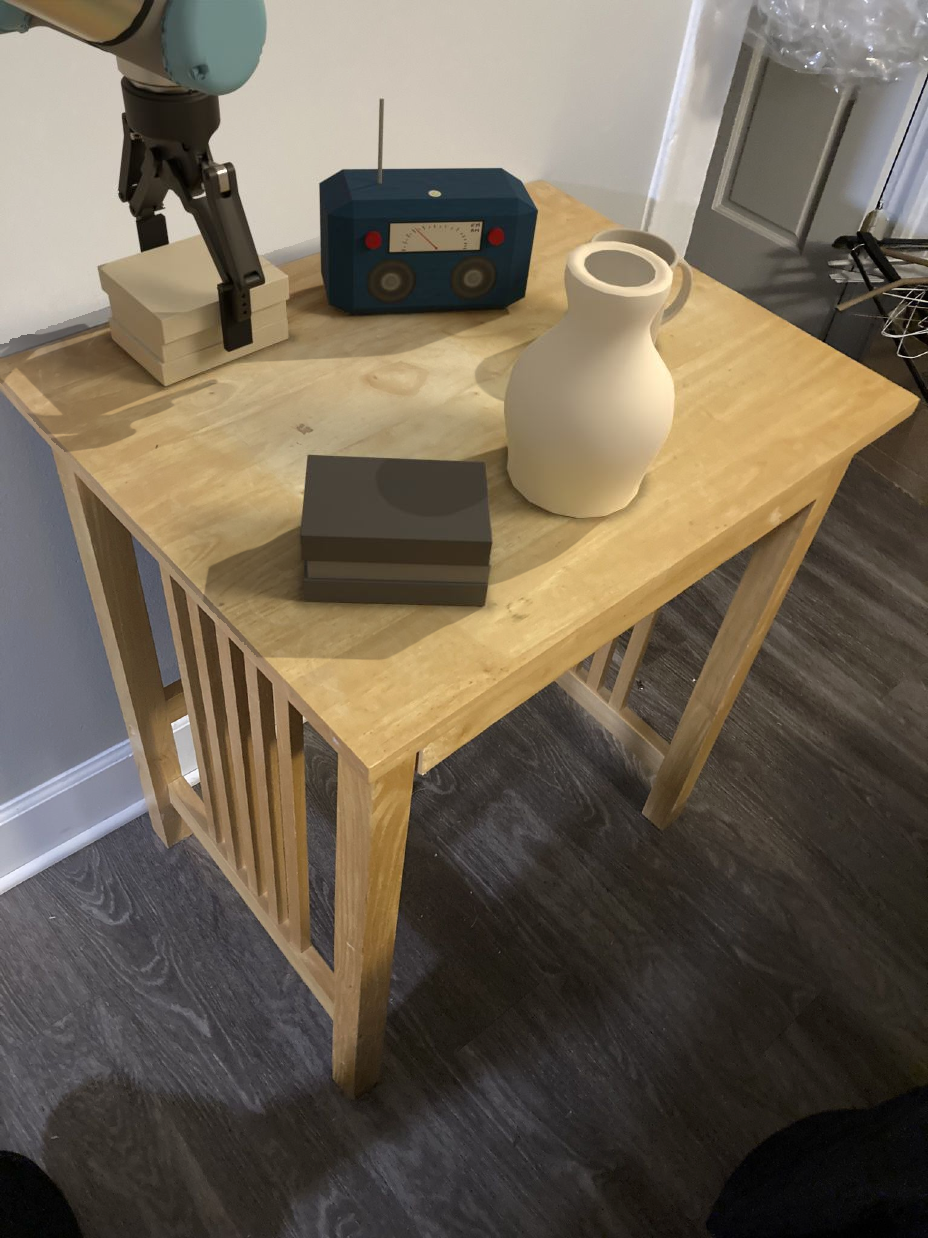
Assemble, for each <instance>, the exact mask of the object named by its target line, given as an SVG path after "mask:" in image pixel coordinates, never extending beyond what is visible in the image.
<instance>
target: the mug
mask: <svg viewBox="0 0 928 1238" xmlns="http://www.w3.org/2000/svg"><path fill="white" fill-rule="evenodd" d="M602 241H615V242H621V243H627V244H632V245H635V246H638V247H641V248H643V249H646V250H648V251H651V252H653V253H654V254H656V255H657V256H659V257H660V258H661V259H663V260H664V261H666V263H667V264H668V266H669V267H670V269H671V270H672V272H673V276H672V282H673V281H674V277H675V274H676V270H677V267H679V268H680V269H681V272H682V281H681V286H680V289H679V291H678V293H677V295H676V297H675V299H674V300H673V301H672V303H671V304H670V305H669V306H668V307H667V302H668V299H669V296H668V297H667V299H666V301H665V302H664V304H663V305H662V307H661V308H660V310H659V311H658V312H657V314H656V315H655V317H654V319H653V320H652V323H651V325H650V335H651V339H652V343H653V345H654V347H655V345H656V341H657V339H658V334H659V332H660V327H661V326H662V325H665V324H667V323H669V322H670V321H672V320H673V319H674V318H676V316H678V314H679V313H680V312H681V311H682V310H683V308H684V307H685V305H686V304H687V302H688V300H689V298H690V295H691V292H692V289H693V285H694V284H693V283H694V274H693V270H692V267H691V265H690V264H689V263H688V262H687V261H686V260H685V259H684V257H682V255H679V254H678V252H677V249H676V248H675V247H674V246H673V245H672V244H671V243H670V242H669V241H668V240H666V239H665V238H663V237H660V236H659V235H656V234H654V233H652V232H649V231H645V230H641V229H635V228H628V227H627V228H626V227H624V228H623V227H616V228H609V229H604V230H601V231H599V232H596V233H595V234H594V235H592V237H591V238H590V240H589V242H588V243H591V242H602Z"/></svg>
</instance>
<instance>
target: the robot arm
mask: <svg viewBox="0 0 928 1238" xmlns="http://www.w3.org/2000/svg"><path fill="white" fill-rule="evenodd" d="M267 24H268V21H267V10H266V3H265V0H0V35H6V34H10V33H11V34H12V33H19V34H21V35H22V34H25V33H27V32H29V30H31V29H33V28H36V27H37V28H38V27H39V28H40V27H42V28H43V27H45V28H49V29H51V30H54V31H56V32H58V33H61V34H63V35H65V36H67V37H70V38H72V39H74V40H77V41H78V42H81V43H83V44H86V45H88V46H91V47H93V48H95V49H99V50H100V51H102V52H104V53H109V54H111V55H114V56H115V59H116V65H117V70H118V72H120V73H121V75H122V77H121V79H120V87H121V93H122V94H121V95H122V101H123V106H124V107H123V108H124V112H121V123H122V124H121V125H122V132H123V140H122V148H121V150H122V151H121V158H120V168H119V177H118V187H117V197H118V199H119V200H120V202H121V203H128V208H129V212H130V214H131V216H132V217H133V218H135V225H136V231H137V238H138V245H139V250H140V253H141V252H145V251H148V250H151V249H154V248H158V247H161V246H164V245H167V244H170V240H169V232H168V226H167V219H166V216H165V215H164V214H163V213H161V212H160V213H157V214H156V212H159V211H162V210H166V207H165V204H164V200H165V199H166V196H167V194H168V193H169V190H170V191H172V192H173V193H174V194H175V196H176V197H178V198H179V200H180V203H181V204H182V207H183V209H184V211H185V212H186V213H188V214H190V215H192V217H193V219H194V221H195V223H196V226H197V228H198V230H199V233H200V234H201V235H202V237H203V239H204V241H205V244H206V246H207V248H208V251H209V253H210V255H211V257H212V260H213V262H214V264H215V266H216V269H217V271H218V273H219V275H220V278H221V280H222V283H220V284H217V290H218V298H219V307H220V316H221V326H222V335H223V345H224V349H225V350H226V351H227V352H231V351H234V350H236V349H239V348H241V347H244V346H247V345H249V344H252V343H253V336H252V323H251V314H252V312H251V299H250V289H252V288H255V287H258V286H261V285H263V284H265V277H264V273H263V270H262V267H261V264H260V260H259V257H258V254H259V253H258V251H257V248H256V245H255V241H254V238H253V235H252V231H251V227H250V224H249V222H248V218H247V216H246V212H245V209H244V205H243V203H242V199H241V196H240V192H239V186H238V179H237V178H238V177H237V171H236V168H235V165H234V164H233V163H232V162H231V161H228V162H223V163H218V162H215V161H214V157H213V155H212V151H211V147H210V144H209V143H210V141H211V138H212V136H214V134H215V132H217V131H218V129H219V127H220V125H221V120H222V119H221V110H220V100H219V96H225V95H230V94H232V93H234V92H236V91H238V90H239V89H241V88H242V87H243V86H245V84H246V83H247V82H248V81H249V80H250V79H251V77H253V75H254V73H255V72H256V70H257V68H258V66H259V63H260V61H261V60H260V58H261V55H262V54H263V47H264V45H265V44H266V39H267V30H268V28H267V27H268V25H267ZM118 191H119V193H118ZM203 194H205V195H204V196H202V195H203ZM200 196H201V197H200ZM196 197H197V198H196ZM257 253H258V254H257Z"/></svg>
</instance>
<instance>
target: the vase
mask: <svg viewBox="0 0 928 1238" xmlns="http://www.w3.org/2000/svg"><path fill="white" fill-rule="evenodd" d="M672 276H673V272H672V270H671V269H670V267H669V266H668V264H667V263H666V261H664V260H663V259H661V258H660V257H659V256H657V255H656V254H654V253H653V252H651V251H648V250H646V249H643V248H641V247H638V246H635V245H632V244H627V243H621V242H615V241H602V242H591V243H589V242H588V243H584V244H580V245H578V246H577V247H576V248H574V249H572V250H571V251H570V252H569V253H568V256H567V259H566V263H565V268H564V275H563V277H564V278H563V281H564V288H565V294H566V299H567V308H566V309H567V310H566V312H565V313H564V315H563V317H562V318H561V319H560V320H559V322H558V323H557V324H555V325H553V326H552V327H550V328H549V329H547V330H546V331H545V332H543V333H542V334H540V335H539V336H537V338H535V339H534V340H533V341H532V342H531V343H529V344H528V345H527V346H526V347H525V348H524V349H523V351H521V352H520V353H519V355H518V356H517V358H516V359H515V361H514V362H513V365H512V369H511V371H510V374H509V378H508V381H507V382H508V383H507V386H506V390H505V393H504V394H505V395H504V400H503V415H504V416H503V417H504V427H505V433H506V442H507V463H506V471H507V473H508V476H509V479H510V481H511V484H512V486H513V487H514V488H515V489H516V490H517V491H518V492H519V493H520V494H521V496H523V497H524V498H525V499H526V500H527V501H528V502H529V503H531V504H534V505H535V506H537V507H539V508H542V509H543V510H545V511H547V512H549V513H552V514H555V515H559V516H566V517H572V518H577V519H587V518H599V517H601V518H602V517H606V516H608V515H611V514H614V513H615V512H618V511H620V510H623V509H625V508H627V506H628V505H629V504H630V502H631V501H632V500H633V499H634V498H635V497H636V496H637V494H638V493H639V489H640V485H641V483H642V482H643V479H644V477H645V475H646V473H647V472H648V470H649V469H650V467H651V465H652V464H653V462H654V461H655V460H656V458H657V456H658V455H659V453H660V452H661V450H662V448H663V447H664V445H665V443H666V441H667V439H668V437H669V435H670V432H671V429H672V426H673V420H674V413H675V398H676V397H675V395H676V393H675V384H674V383H675V382H674V380H673V377H672V374H671V372H670V371H669V369H668V367H667V365H666V364H665V362H664V360H663V358H662V357H661V355H660V353H659V352H658V350H657V348H656V347H655V346H654V345H653V343H652V339H651V335H650V325H651V323H652V320H653V319H654V317H655V315H656V314H657V312H658V311H659V310H660V308H661V307H662V305H663V304H664V302H665V301H666V299H667V297H668V298H669V295H670V293H671V289H672V285H673V281H672ZM667 300H668V299H667Z"/></svg>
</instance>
